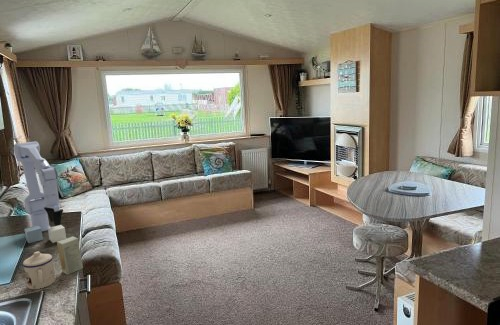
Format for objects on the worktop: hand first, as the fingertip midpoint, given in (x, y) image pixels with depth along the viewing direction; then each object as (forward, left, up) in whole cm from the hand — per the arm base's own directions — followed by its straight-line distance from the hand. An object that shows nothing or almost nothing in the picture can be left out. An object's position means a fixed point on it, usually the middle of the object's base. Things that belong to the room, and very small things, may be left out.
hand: (55, 223), depth 167 cm
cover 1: (-8, -8, -8) cm, 14 cm away
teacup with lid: (+43, -16, -8) cm, 46 cm away
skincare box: (+39, -5, -8) cm, 40 cm away
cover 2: (0, 0, -8) cm, 8 cm away
